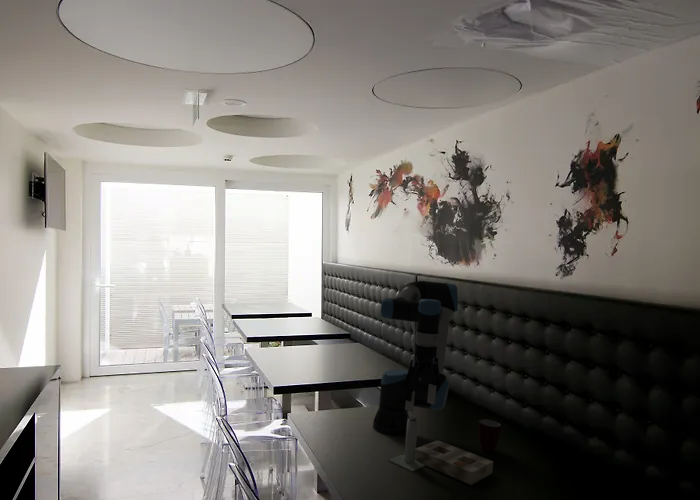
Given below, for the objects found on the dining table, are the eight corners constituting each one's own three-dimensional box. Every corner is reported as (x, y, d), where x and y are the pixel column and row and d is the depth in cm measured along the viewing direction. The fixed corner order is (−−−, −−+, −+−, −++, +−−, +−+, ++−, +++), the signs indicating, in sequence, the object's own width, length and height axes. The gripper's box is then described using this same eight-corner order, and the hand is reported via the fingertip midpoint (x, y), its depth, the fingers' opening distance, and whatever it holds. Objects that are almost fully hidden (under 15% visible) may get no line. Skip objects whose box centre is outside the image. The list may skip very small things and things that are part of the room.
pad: (388, 460, 170) (388, 459, 170) (405, 454, 177) (405, 452, 177) (412, 471, 163) (412, 470, 163) (429, 464, 170) (429, 462, 170)
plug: (401, 460, 170) (405, 417, 170) (407, 458, 172) (411, 416, 172) (410, 464, 167) (414, 421, 167) (416, 461, 170) (420, 419, 170)
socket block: (414, 460, 172) (415, 448, 172) (436, 451, 182) (437, 439, 182) (471, 485, 157) (472, 471, 157) (492, 473, 167) (493, 460, 167)
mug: (498, 458, 181) (501, 430, 181) (476, 453, 183) (478, 426, 183) (498, 447, 191) (500, 421, 191) (476, 443, 193) (479, 418, 193)
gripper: (414, 350, 158) (408, 416, 158) (454, 344, 177) (448, 403, 177) (395, 345, 163) (389, 410, 163) (435, 340, 182) (430, 398, 182)
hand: (420, 406), depth 170 cm, fingers open, 13 cm apart
